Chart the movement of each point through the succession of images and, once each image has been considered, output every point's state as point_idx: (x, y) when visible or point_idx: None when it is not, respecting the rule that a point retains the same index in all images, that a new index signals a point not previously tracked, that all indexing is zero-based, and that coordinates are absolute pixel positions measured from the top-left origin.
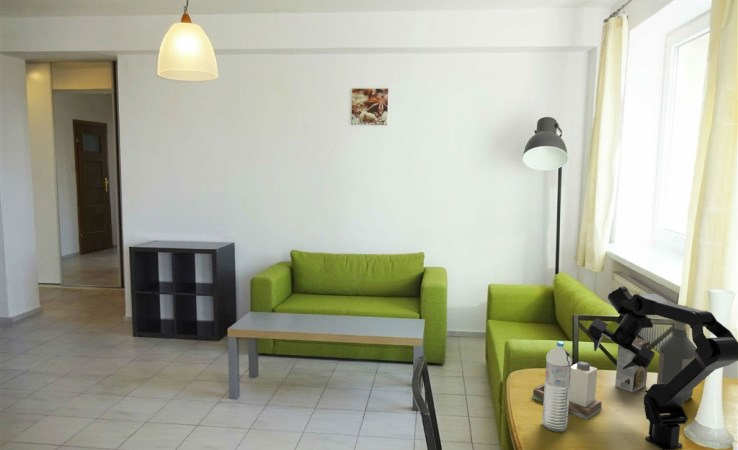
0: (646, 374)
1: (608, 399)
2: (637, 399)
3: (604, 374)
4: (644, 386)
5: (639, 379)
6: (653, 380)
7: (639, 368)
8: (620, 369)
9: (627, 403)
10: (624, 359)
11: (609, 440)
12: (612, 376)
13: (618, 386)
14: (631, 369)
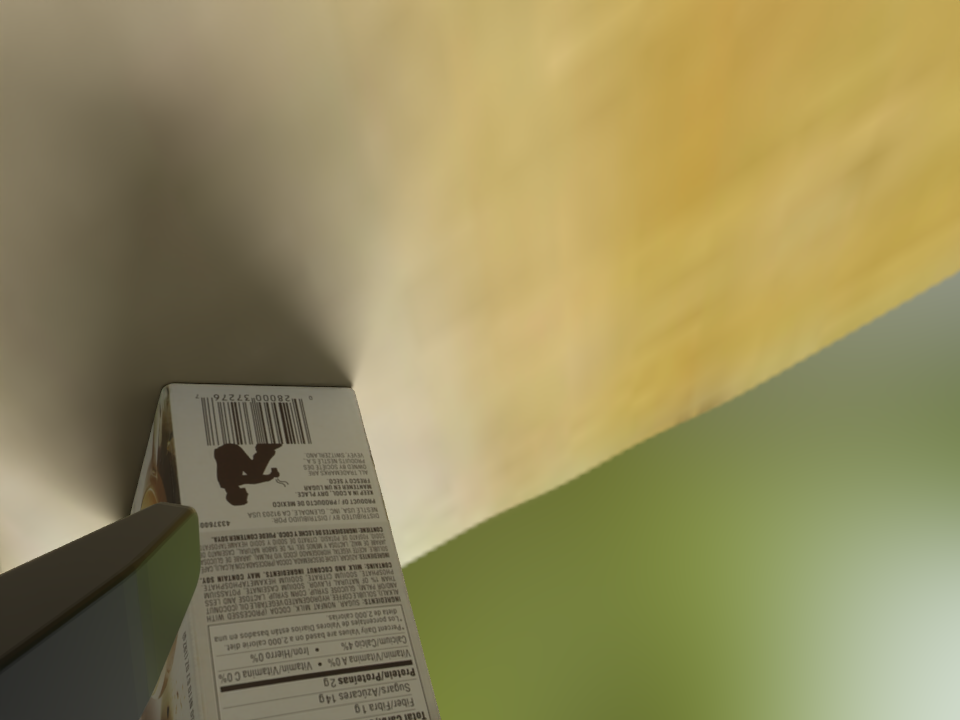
0: None
1: (331, 59)
2: (44, 290)
3: (475, 481)
4: None
5: None
6: None
7: (165, 675)
8: (355, 563)
9: (80, 113)
10: (347, 705)
11: None
12: (413, 493)
13: (321, 392)
14: (231, 620)
